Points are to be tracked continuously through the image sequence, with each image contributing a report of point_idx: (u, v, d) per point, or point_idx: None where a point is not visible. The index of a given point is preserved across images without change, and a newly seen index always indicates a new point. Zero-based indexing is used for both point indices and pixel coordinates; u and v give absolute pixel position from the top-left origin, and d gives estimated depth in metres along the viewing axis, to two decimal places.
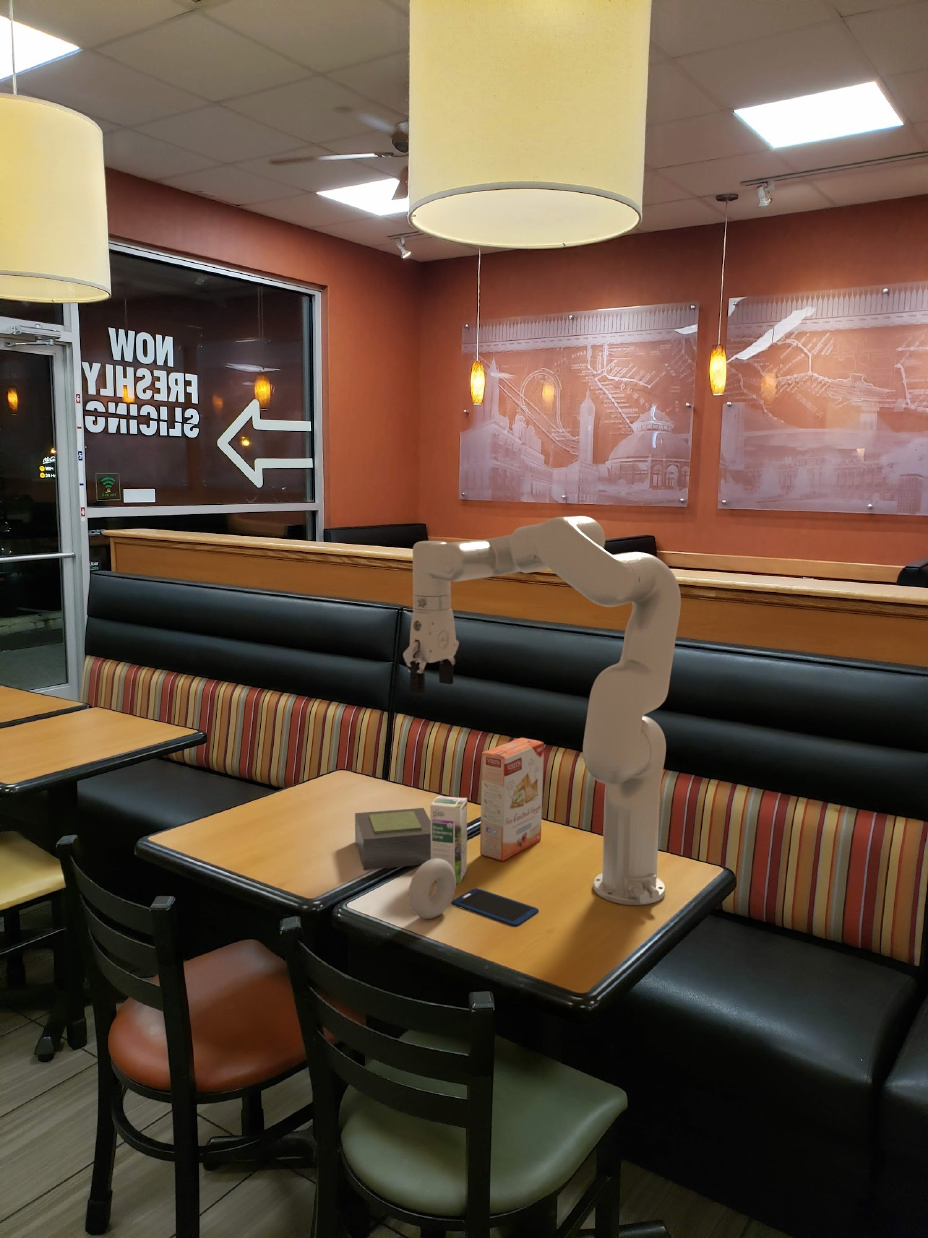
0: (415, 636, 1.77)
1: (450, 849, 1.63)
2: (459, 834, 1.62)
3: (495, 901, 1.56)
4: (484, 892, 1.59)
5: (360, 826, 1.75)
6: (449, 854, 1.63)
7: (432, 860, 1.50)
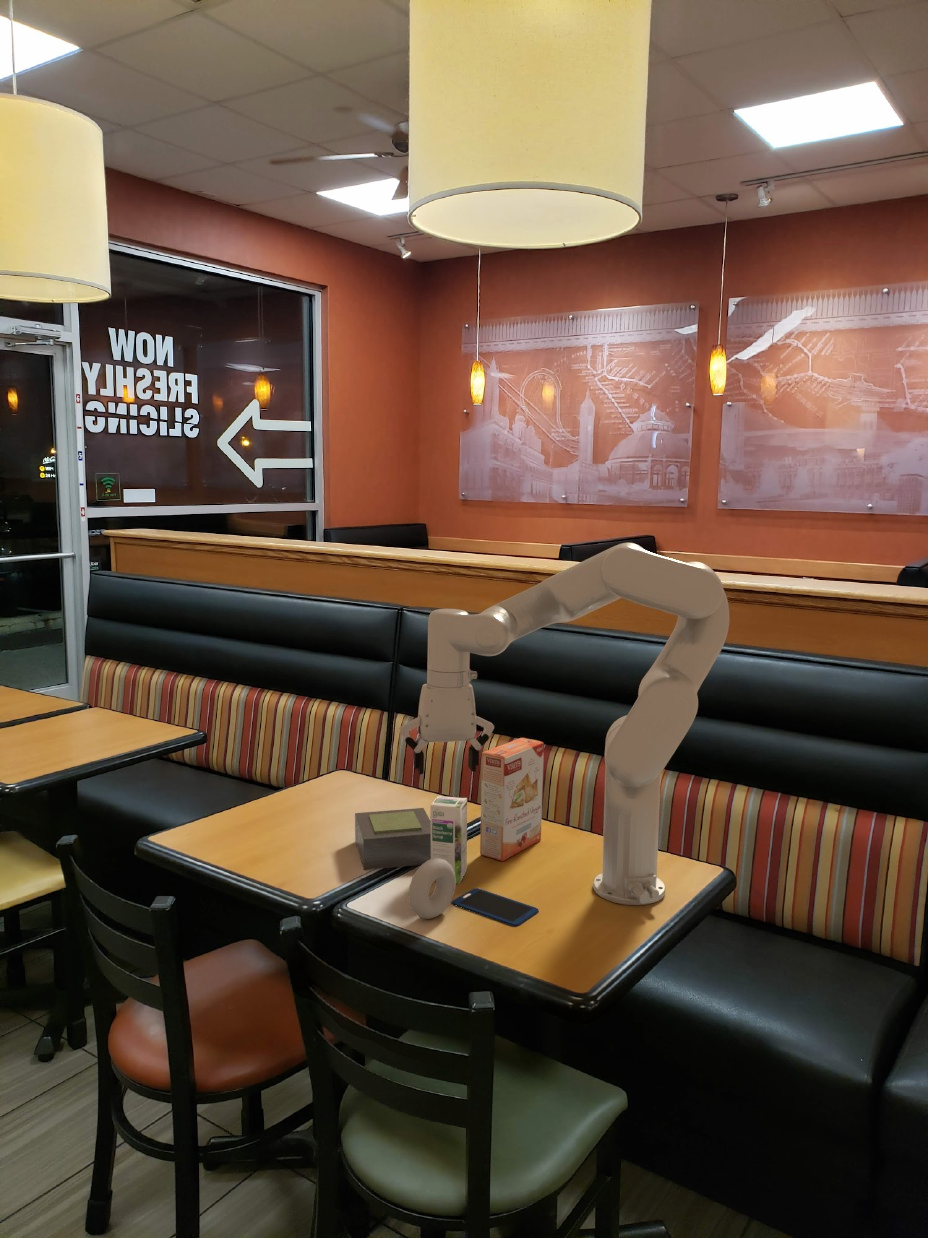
0: None
1: (450, 849, 1.63)
2: (459, 834, 1.62)
3: (495, 901, 1.56)
4: (484, 892, 1.59)
5: (360, 826, 1.75)
6: (449, 854, 1.63)
7: (432, 860, 1.50)
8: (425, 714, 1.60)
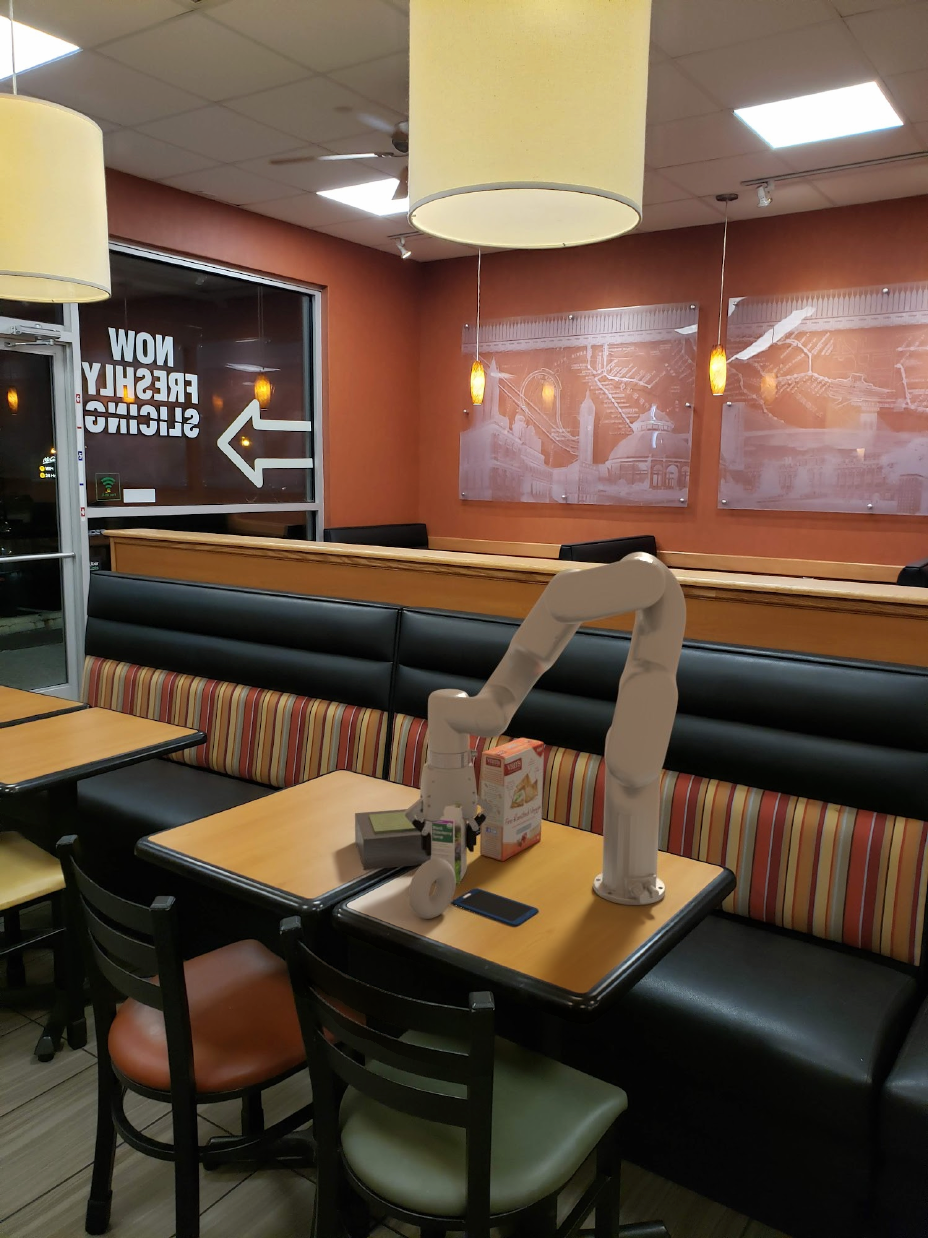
0: None
1: (450, 849, 1.63)
2: (459, 834, 1.62)
3: (495, 901, 1.56)
4: (484, 892, 1.59)
5: (360, 826, 1.75)
6: (449, 854, 1.63)
7: (432, 860, 1.50)
8: (427, 795, 1.62)
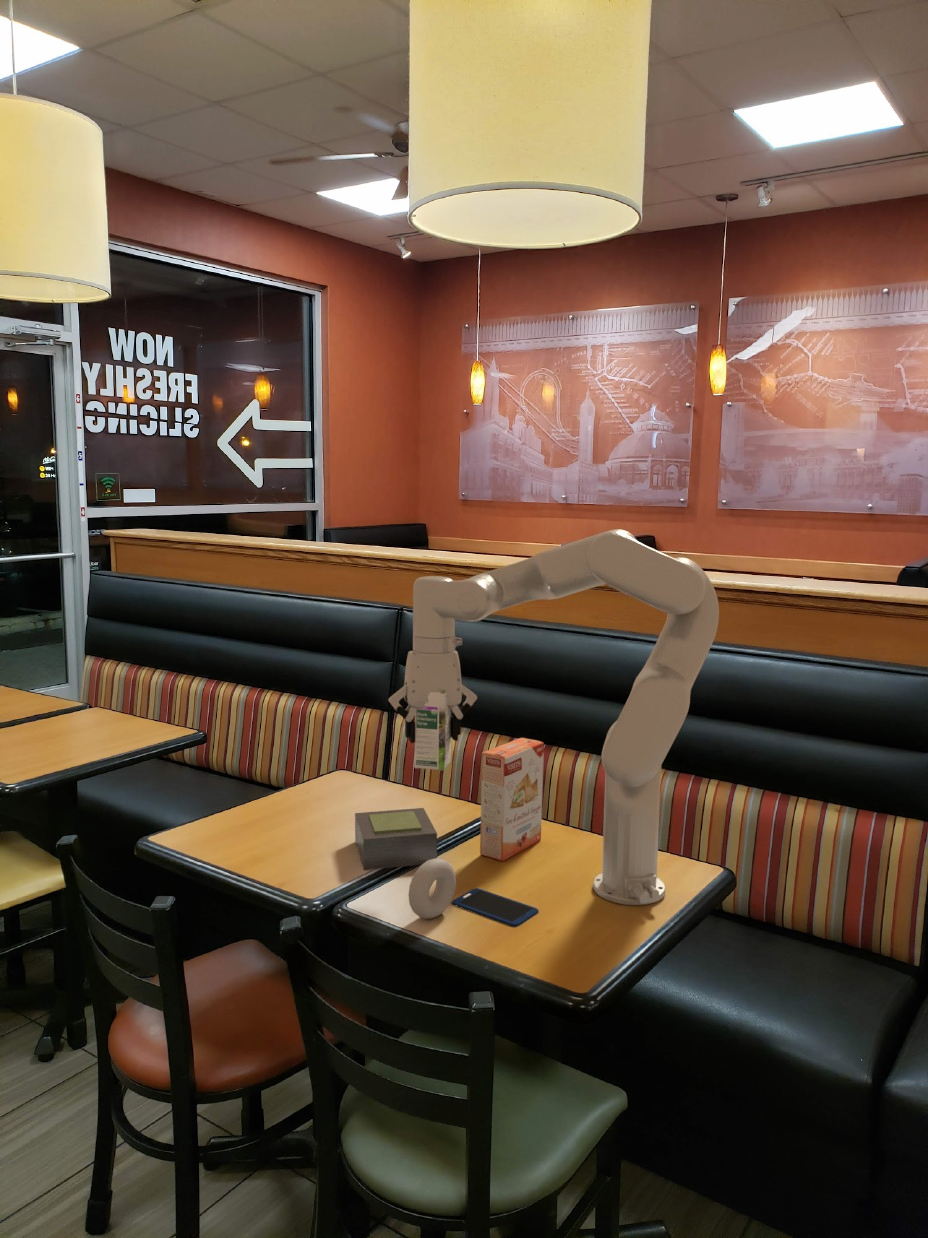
0: None
1: (434, 735, 1.63)
2: (443, 720, 1.62)
3: (495, 901, 1.56)
4: (484, 892, 1.59)
5: (360, 826, 1.75)
6: (433, 740, 1.63)
7: (432, 860, 1.50)
8: (411, 680, 1.61)
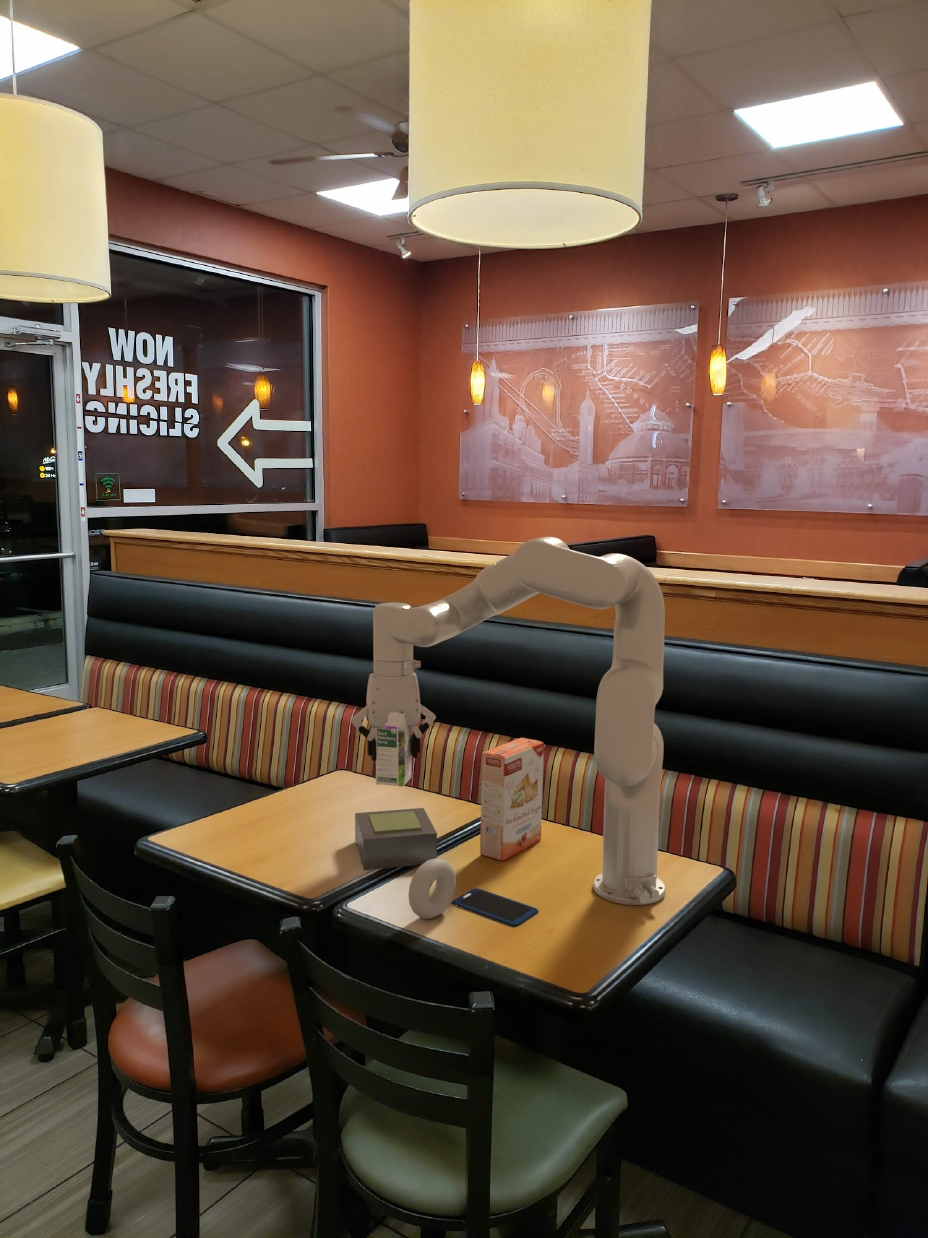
0: None
1: (394, 753, 1.72)
2: (402, 739, 1.71)
3: (495, 901, 1.56)
4: (484, 892, 1.59)
5: (360, 826, 1.75)
6: (393, 758, 1.72)
7: (432, 860, 1.50)
8: (372, 701, 1.70)
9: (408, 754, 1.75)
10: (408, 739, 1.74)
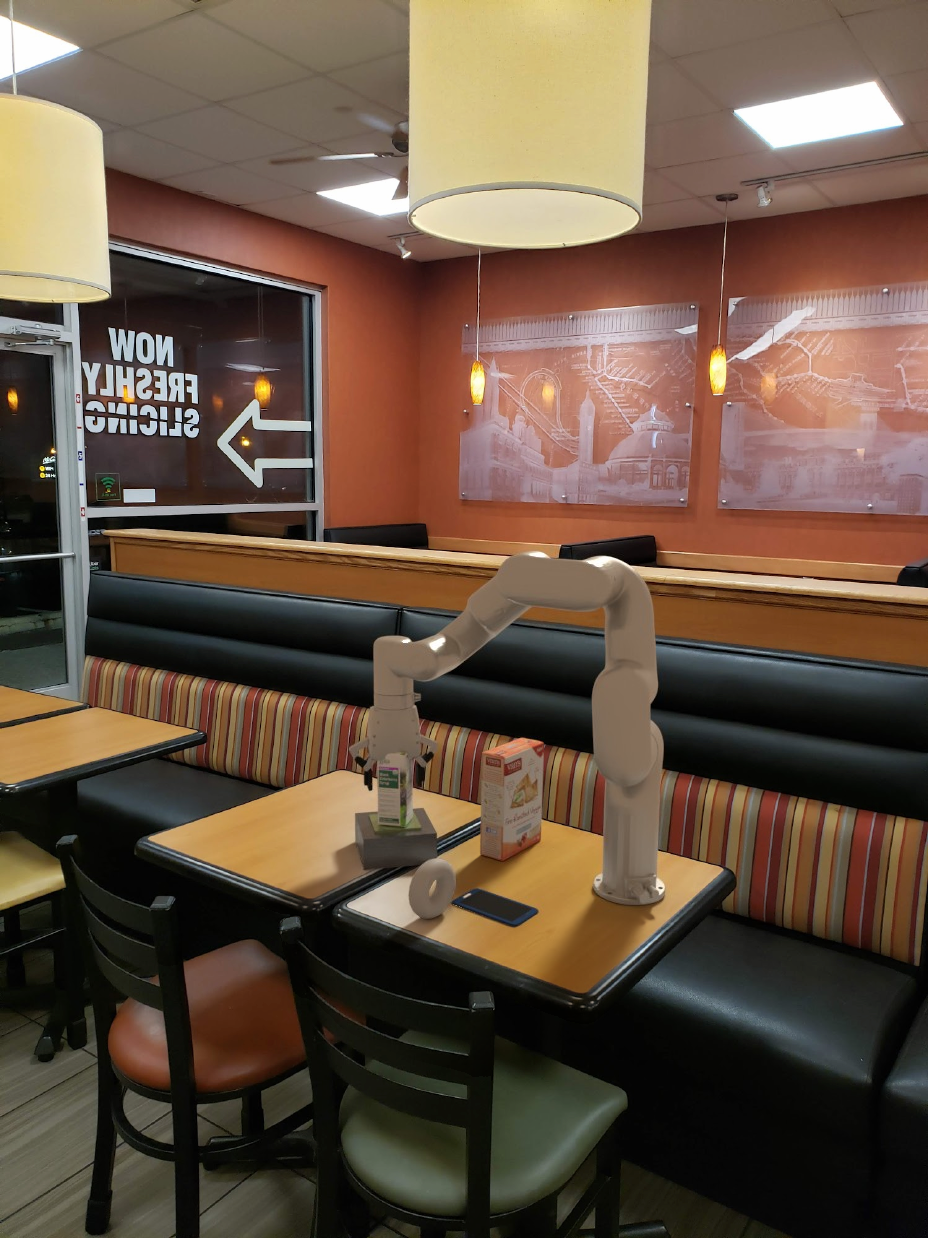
0: None
1: (395, 794, 1.73)
2: (404, 780, 1.72)
3: (495, 901, 1.56)
4: (484, 892, 1.59)
5: (360, 826, 1.75)
6: (395, 799, 1.73)
7: (432, 860, 1.50)
8: (372, 735, 1.71)
9: (410, 794, 1.76)
10: (409, 779, 1.75)
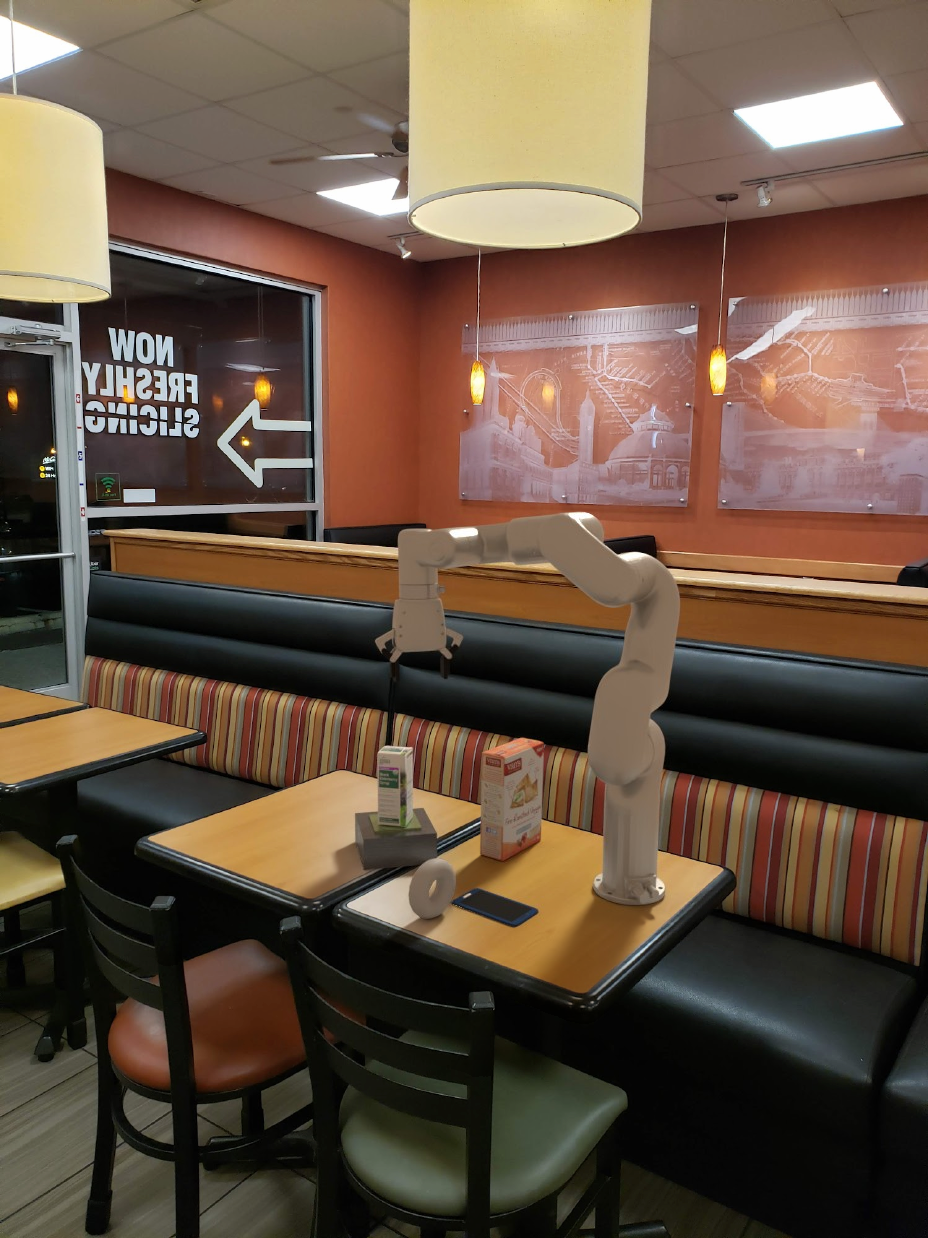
0: None
1: (395, 794, 1.73)
2: (404, 780, 1.72)
3: (495, 901, 1.56)
4: (484, 892, 1.59)
5: (360, 826, 1.75)
6: (395, 799, 1.73)
7: (432, 860, 1.50)
8: (399, 625, 1.73)
9: (410, 794, 1.76)
10: (410, 779, 1.75)
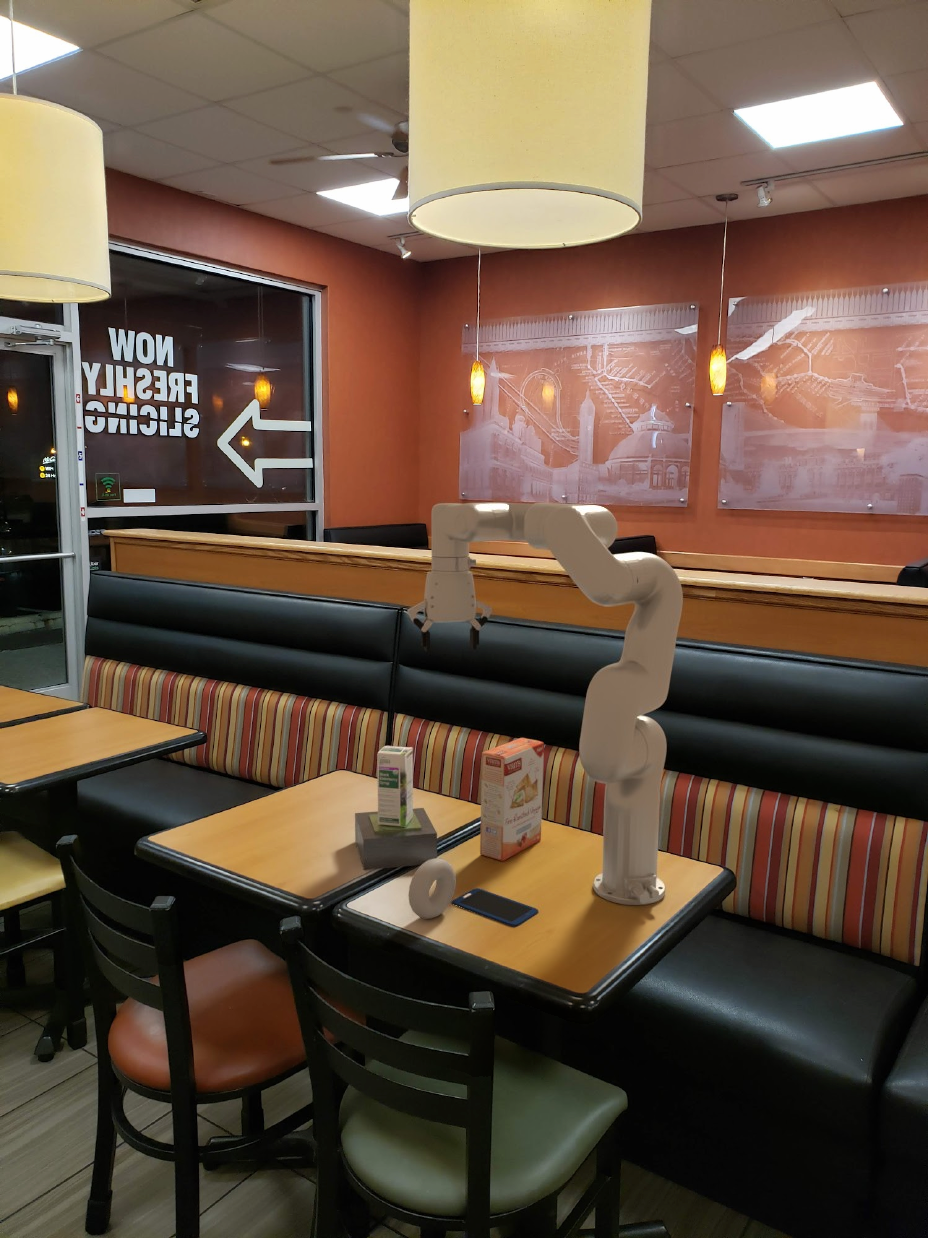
0: None
1: (395, 794, 1.73)
2: (404, 780, 1.72)
3: (495, 901, 1.56)
4: (485, 892, 1.59)
5: (360, 826, 1.75)
6: (395, 799, 1.73)
7: (432, 860, 1.50)
8: (430, 596, 1.79)
9: (410, 794, 1.76)
10: (410, 779, 1.75)
